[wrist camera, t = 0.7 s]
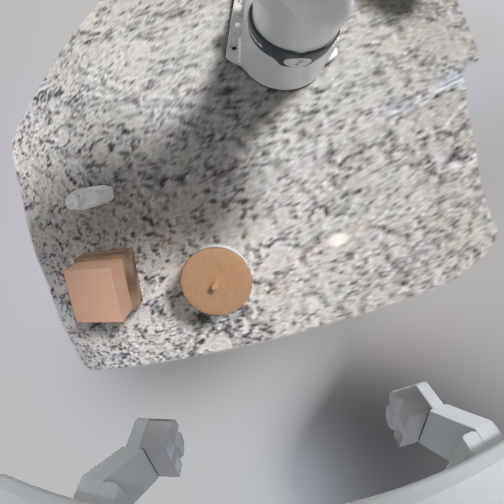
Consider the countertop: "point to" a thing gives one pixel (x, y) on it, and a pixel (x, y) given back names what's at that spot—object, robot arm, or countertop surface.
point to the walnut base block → (129, 269)
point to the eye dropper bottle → (89, 197)
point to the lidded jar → (216, 279)
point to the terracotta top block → (98, 291)
